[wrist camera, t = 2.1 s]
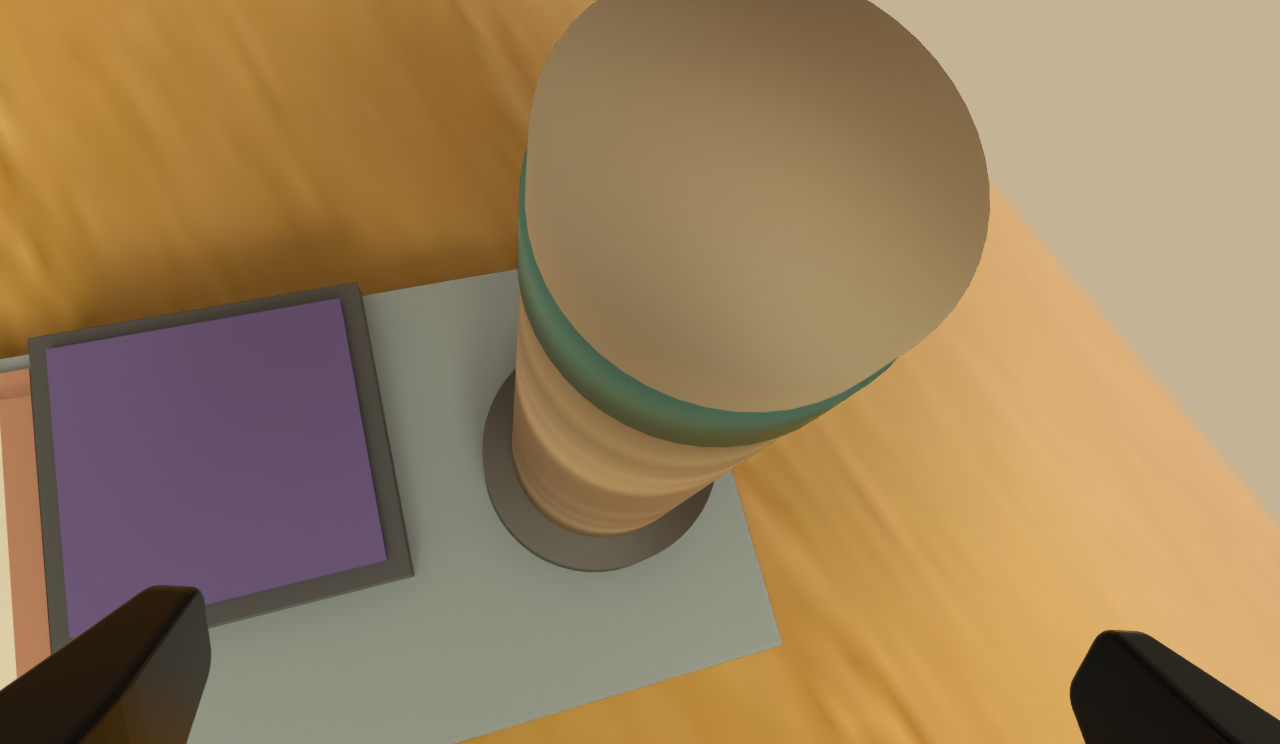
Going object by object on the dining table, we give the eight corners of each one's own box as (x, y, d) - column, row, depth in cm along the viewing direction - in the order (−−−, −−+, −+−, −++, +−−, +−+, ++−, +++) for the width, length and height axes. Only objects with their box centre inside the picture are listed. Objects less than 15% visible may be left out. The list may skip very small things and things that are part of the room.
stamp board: (-497, 1022, 14) (-644, 1080, 12) (-455, 456, 16) (-571, 435, 15) (769, 643, 19) (796, 646, 17) (657, 257, 22) (671, 224, 20)
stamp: (605, 620, 18) (832, 614, 6) (436, 468, 18) (299, 144, 6) (742, 453, 19) (1155, 160, 7) (584, 316, 20) (720, -186, 8)
